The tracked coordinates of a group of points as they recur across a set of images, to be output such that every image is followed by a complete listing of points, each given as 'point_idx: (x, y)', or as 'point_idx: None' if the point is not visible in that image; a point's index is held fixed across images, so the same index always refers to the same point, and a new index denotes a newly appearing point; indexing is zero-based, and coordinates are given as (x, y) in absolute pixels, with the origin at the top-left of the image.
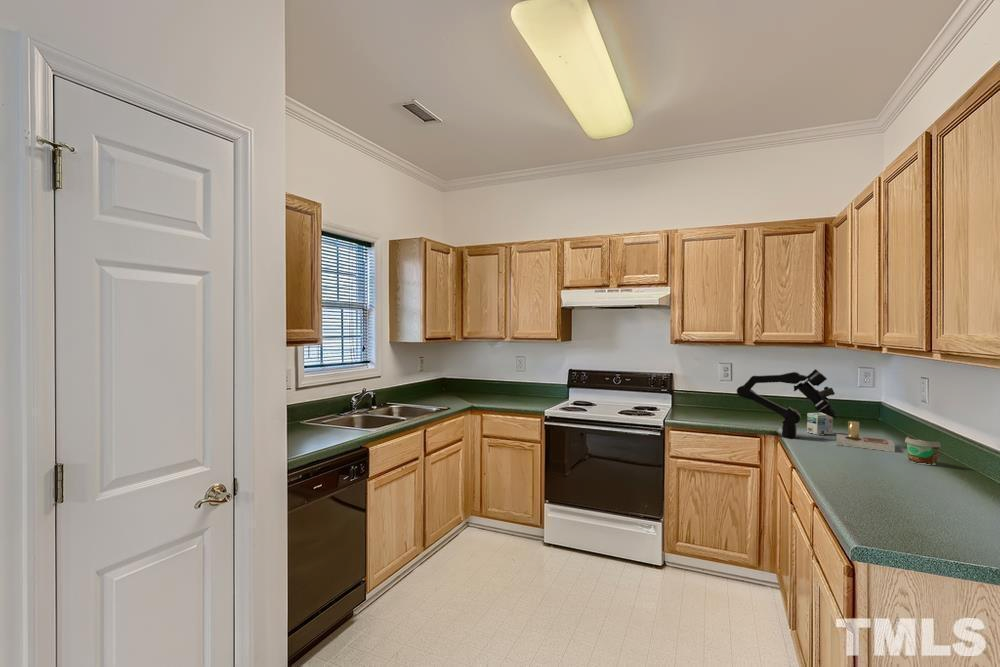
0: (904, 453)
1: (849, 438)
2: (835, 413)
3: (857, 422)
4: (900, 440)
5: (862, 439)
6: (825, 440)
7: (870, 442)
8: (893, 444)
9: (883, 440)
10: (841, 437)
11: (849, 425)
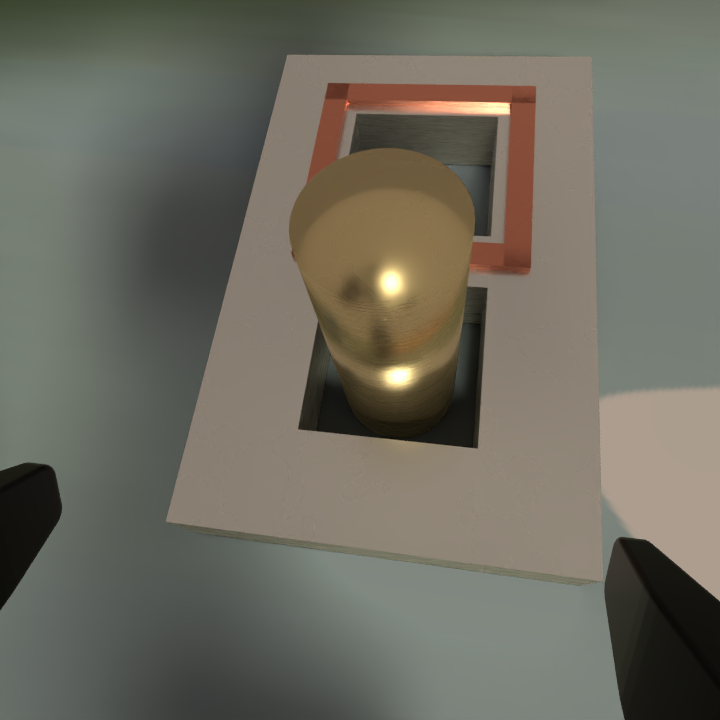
0: None
1: (433, 401)
2: (29, 484)
3: (403, 171)
4: (20, 35)
5: None
6: (287, 686)
7: (564, 220)
8: (533, 60)
9: (356, 108)
10: (411, 491)
11: (433, 320)
